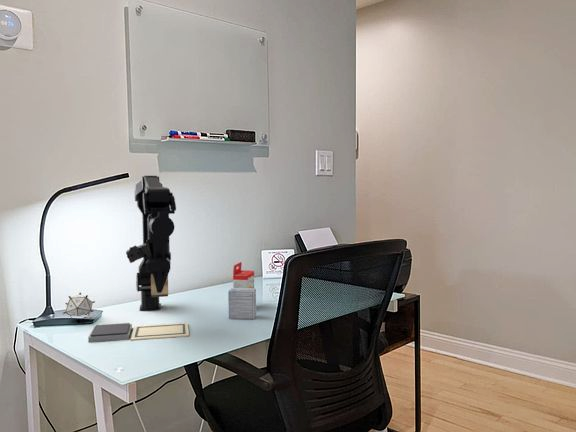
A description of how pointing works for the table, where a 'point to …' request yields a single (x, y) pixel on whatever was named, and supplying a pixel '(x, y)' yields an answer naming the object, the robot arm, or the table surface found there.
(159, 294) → the stamp
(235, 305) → the medicine box
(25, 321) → the table surface
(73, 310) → the game die
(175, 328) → the card sheet
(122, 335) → the ink pad
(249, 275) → the ink box
